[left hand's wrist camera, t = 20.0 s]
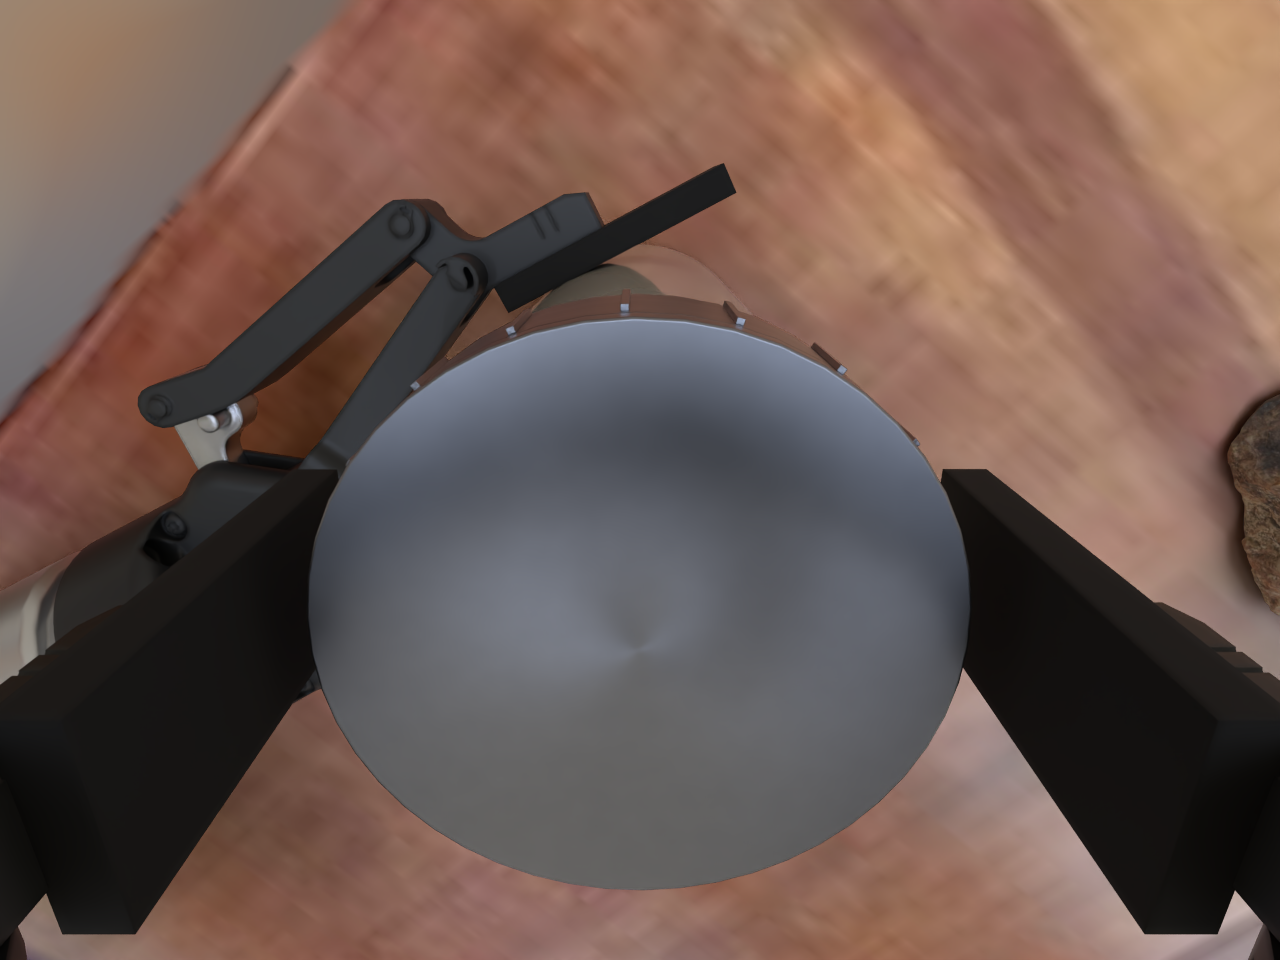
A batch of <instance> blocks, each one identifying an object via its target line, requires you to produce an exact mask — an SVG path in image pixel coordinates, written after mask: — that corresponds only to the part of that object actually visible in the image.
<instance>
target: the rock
mask: <svg viewBox="0 0 1280 960" xmlns="http://www.w3.org/2000/svg"><path fill="white" fill-rule="evenodd" d="M1227 457H1228V464H1229V465H1230V467H1231V471H1232V475H1233V479H1234V485H1235V488H1236V489H1237V490H1238V491H1239V492H1240V493H1241V495H1242V500H1243V502H1244V504H1245V505H1244V532H1245V538H1244V539H1243V540H1242V541H1241V542H1242V545H1243V548H1244V550H1245V552H1246V553H1247V558H1248V561H1249V563H1250V565H1251V567H1252V569H1251V571H1252V573H1253V577H1254V581H1255V583H1256V584H1257V585H1258V587H1259V589H1260V590H1261V592H1262V595H1263V598H1264V601H1265V602H1266V603H1267V604H1268V605H1269V607H1270V610H1271V611H1272V612H1274V613H1276V614H1277V615H1280V394H1279V395H1277V396H1275V397H1272V398H1270V399H1268V400H1266V401H1264V402H1263V404H1262V405H1261V406H1260V407H1259V408H1258V409H1257V410H1256V411H1255V412H1254V413H1253V414H1252V415H1251V416H1250V418H1249V419H1248V420H1247V422H1246V423H1245V424H1244V426H1243V427H1242V429H1241V432H1240V433H1239V435H1238V436H1237V437H1236V438H1235V439H1234V441H1233V442H1232V443H1231V445H1230V448H1229V450H1228V453H1227Z"/></svg>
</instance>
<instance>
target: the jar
mask: <svg viewBox="0 0 1280 960" xmlns="http://www.w3.org/2000/svg"><path fill="white" fill-rule="evenodd" d="M623 289H630V291H631V294H649V295H668V296H680V297H685V298H690V299H695V300H701V301H706V302H711V303H716V304H720V305H723V304H724V301H725V300H726V301H729V302H732V303H733V305H734V306H735V307H736V308H737V309H738V311H741V312H744V313H747V314H750V315H753V314H752V313H751V312H750V311H749V310H748V309H747V307H746V306H745V305H744V304H743V303H742V302H741V301H740V300H739V299H738V298H737V297H736V296H735V295H734V294H733V292H732V291H731V290H730V289H729V288H728V287H727V286H726V285H725V284H724V283H723V282H722V281H721V280H720V279H719V278H718V276H717V275H716V274H715V273H713V272H712V271H711V270H710V269H708V268H707V267H706V266H705V265H703V264H702V263H700V262H699V261H697V260H695V259H694V258H692V257H690V256H688V255H686V254H683V253H681V252H679V251H676V250H673V249H669V248H666V247H662V246H655V245H647V244H638V245H636V246H634V247H633V248H631V249H629V250H627V251H625V252H623V253H621V254H619V255H617V256H616V257H614V258H612V259H610V260H608V261H606V262H604V263H602V264H600V265H598V266H597V267H595V268H593V269H591V270H589V271H587V272H585V273H583V274H581V275H580V276H578V277H576V278H574V279H572V280H570V281H568V282H566V283H564V284H563V285H561V286H559V287H557V288H555V289H553V290H551V291H549V292H547V293H546V294H545V295H544V296H543V297H542V298H541V299H540V300H539V301H538V302H537V303H536V304H535V305H534V306H533V307H532V309H531V311H532V313H535V312H538V311H540V310H543V309H546V308H549V307H551V306H555V305H559V304H564V303H568V302H573V301H578V300H582V299H587V298H591V297H600V296H613V295H622V291H623ZM753 316H754V315H753Z"/></svg>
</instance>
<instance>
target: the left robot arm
mask: <svg viewBox="0 0 1280 960" xmlns="http://www.w3.org/2000/svg"><path fill="white" fill-rule="evenodd" d="M338 481H339V478H338V471H337V469H293V470H292V471H291V472H289V473H288V474H287V475H286V476H284V477H283V478H282V479H281V480H279V481H278V482H277V483H276V484H274V485H273V486H272V487H271V488H269V489H268V490H267V491H266V492H264V493H263V494H262V495H261V496H259V497H258V498H257V499H256V500H254V501H253V502H252V503H250V504H249V505H248V506H247V507H245V508H244V509H243V510H242V511H240V512H239V513H238V514H237V515H235V516H234V517H233V518H232V519H230V520H229V521H228V522H227V523H225V524H224V525H223V526H222V527H220V528H219V529H218V530H217V531H215V532H214V533H213V534H212V535H210V536H209V537H208V538H207V539H205V540H204V541H203V542H202V543H200V544H199V545H198V546H197V547H195V548H194V549H193V550H191V551H190V552H189V553H188V554H186V555H185V556H184V557H183V558H181V559H180V560H179V561H178V562H176V563H175V564H174V565H173V566H171V567H170V568H169V569H168V570H166V571H165V572H164V573H163V574H161V575H160V576H159V577H158V578H156V579H155V580H154V581H153V582H151V583H150V584H149V585H148V586H146V587H145V588H144V589H143V590H141V591H140V592H139V593H137V594H136V595H135V596H134V597H132V598H131V599H130V600H129V601H127V602H126V603H125V604H124V605H118V606H116V607H114V608H112V609H110V610H108V611H106V612H104V613H102V614H100V615H98V616H96V617H94V618H92V619H90V620H87V621H85V622H83V623H81V624H79V625H77V626H76V627H75V628H73V629H72V630H71V631H69V632H68V633H67V634H65V635H64V636H63V637H62V638H60V639H59V640H58V641H56V642H55V643H54V644H52V645H51V646H50V647H48V648H47V649H46V650H45V655H38V656H37V657H35V658H34V659H33V660H32V661H30V662H29V663H28V664H26V665H25V666H24V667H22V668H21V669H20V670H19V674H18V676H11V677H9V678H8V679H7V680H6V681H4V682H3V683H2V684H0V960H27V956H26V950H25V943H24V940H23V938H22V935H21V933H20V930H19V928H18V925H19V924H20V923H21V922H22V921H23V920H24V918H25V917H26V916H27V915H28V914H29V912H30V911H31V910H32V909H33V908H34V907H35V905H36V904H37V903H38V902H39V901H40V900H41V898H42V897H43V896H44V895H45V894H47V896H48V899H49V902H50V904H51V907H52V909H53V912H54V914H55V917H56V919H57V922H58V924H59V927H60V929H61V932H62V934H136V932H137V931H138V930H139V928H140V927H141V925H142V924H143V922H144V921H145V919H146V918H147V916H148V915H149V913H150V912H151V910H152V909H153V908H154V906H155V905H156V903H157V902H158V900H159V899H160V897H161V896H162V894H163V893H164V891H165V890H166V888H167V887H168V885H169V884H170V883H171V881H172V880H173V878H174V877H175V875H176V874H177V872H178V871H179V869H180V868H181V866H182V865H183V863H184V862H185V861H186V859H187V858H188V856H189V855H190V853H191V852H192V850H193V849H194V847H195V846H196V844H197V843H198V841H199V840H200V838H201V837H202V836H203V834H204V833H205V831H206V830H207V828H208V827H209V825H210V824H211V822H212V821H213V819H214V818H215V816H216V815H217V814H218V812H219V811H220V809H221V808H222V806H223V805H224V803H225V802H226V800H227V799H228V797H229V796H230V794H231V793H232V792H233V790H234V789H235V787H236V786H237V784H238V783H239V781H240V780H241V778H242V777H243V775H244V774H245V772H246V771H247V769H248V768H249V767H250V765H251V764H252V762H253V761H254V759H255V758H256V756H257V755H258V753H259V752H260V750H261V749H262V747H263V746H264V745H265V743H266V742H267V740H268V739H269V737H270V736H271V734H272V733H273V731H274V730H275V728H276V727H277V725H278V724H279V723H280V721H281V720H282V718H283V717H284V715H285V714H286V712H287V711H288V709H289V708H290V706H291V705H292V703H293V702H294V700H295V699H296V698H297V696H298V695H299V693H300V692H301V690H302V689H303V687H304V686H305V684H306V683H307V681H308V680H309V678H310V677H311V676H312V674H313V673H314V671H315V670H316V667H315V664H314V660H313V657H312V653H311V645H310V637H309V629H308V622H307V589H308V573H309V568H310V562H311V557H312V551H313V546H314V541H315V537H316V534H317V531H318V528H319V525H320V522H321V520H322V517H323V514H324V511H325V508H326V505H327V503H328V500H329V498H330V496H331V494H332V492H333V491H334V489H335V487H336V485H337V483H338ZM941 484H942V486H943V488H944V490H945V491H946V493H947V496H948V498H949V501H950V503H951V506H952V509H953V511H954V514H955V516H956V519H957V521H958V524H959V527H960V529H961V532H962V537H963V542H964V546H965V551H966V556H967V560H968V565H969V569H970V587H971V604H972V611H971V621H970V631H969V642H968V649H967V653H966V657H965V661H964V665H963V668H964V670H965V671H966V673H967V674H968V676H969V677H970V678H971V680H972V681H973V683H974V684H975V686H976V687H977V689H978V690H979V692H980V693H981V695H982V696H983V698H984V699H985V700H986V702H987V703H988V705H989V706H990V708H991V709H992V711H993V712H994V714H995V715H996V717H997V718H998V720H999V721H1000V723H1001V724H1002V725H1003V727H1004V728H1005V730H1006V731H1007V733H1008V734H1009V736H1010V737H1011V739H1012V740H1013V742H1014V743H1015V745H1016V746H1017V747H1018V749H1019V750H1020V752H1021V753H1022V755H1023V756H1024V758H1025V759H1026V761H1027V762H1028V764H1029V765H1030V767H1031V768H1032V769H1033V771H1034V772H1035V774H1036V775H1037V777H1038V778H1039V780H1040V781H1041V783H1042V784H1043V786H1044V787H1045V789H1046V790H1047V792H1048V793H1049V794H1050V796H1051V797H1052V799H1053V800H1054V802H1055V803H1056V805H1057V806H1058V808H1059V809H1060V811H1061V812H1062V814H1063V815H1064V816H1065V818H1066V819H1067V821H1068V822H1069V824H1070V825H1071V827H1072V828H1073V830H1074V831H1075V833H1076V834H1077V836H1078V837H1079V839H1080V840H1081V841H1082V843H1083V844H1084V846H1085V847H1086V849H1087V850H1088V852H1089V853H1090V855H1091V856H1092V858H1093V859H1094V861H1095V862H1096V863H1097V865H1098V866H1099V868H1100V869H1101V871H1102V872H1103V874H1104V875H1105V877H1106V878H1107V880H1108V881H1109V883H1110V884H1111V885H1112V887H1113V888H1114V890H1115V891H1116V893H1117V894H1118V896H1119V897H1120V899H1121V900H1122V902H1123V903H1124V905H1125V906H1126V908H1127V909H1128V910H1129V912H1130V913H1131V915H1132V916H1133V918H1134V919H1135V921H1136V922H1137V924H1138V925H1139V927H1140V928H1141V930H1142V931H1143V932H1144V934H1218V932H1219V929H1220V927H1221V924H1222V922H1223V919H1224V917H1225V914H1226V912H1227V909H1228V907H1229V904H1230V902H1231V899H1232V896H1233V894H1234V891H1235V890H1236V892H1237V893H1238V894H1239V895H1240V896H1241V898H1242V899H1243V900H1244V901H1245V902H1246V903H1247V905H1248V906H1249V907H1250V908H1251V909H1252V910H1253V912H1254V913H1255V914H1256V915H1257V916H1258V917H1259V919H1260V920H1261V921H1262V922H1263V926H1262V928H1261V930H1260V933H1259V935H1258V938H1257V940H1256V942H1255V945H1254V947H1253V949H1252V952H1251V954H1250V956H1249V959H1248V960H1280V680H1278V679H1277V678H1276V677H1274V676H1273V675H1272V674H1270V673H1263V671H1262V667H1261V666H1260V665H1259V664H1257V663H1256V662H1255V661H1253V660H1252V659H1251V658H1249V657H1248V656H1247V655H1245V654H1244V653H1243V652H1236V647H1235V646H1234V645H1232V644H1231V643H1230V642H1228V641H1227V640H1226V639H1224V638H1223V637H1222V636H1220V635H1219V634H1218V633H1217V632H1215V631H1214V630H1213V629H1211V628H1210V627H1209V626H1207V625H1206V624H1205V623H1203V622H1201V621H1199V620H1197V619H1195V618H1193V617H1191V616H1189V615H1187V614H1185V613H1182V612H1180V611H1178V610H1176V609H1174V608H1172V607H1170V606H1168V605H1166V604H1164V603H1154V602H1153V601H1151V600H1150V599H1149V598H1148V597H1146V596H1145V595H1144V594H1142V593H1141V592H1140V591H1139V590H1137V589H1136V588H1135V587H1134V586H1132V585H1131V584H1130V583H1129V582H1127V581H1126V580H1125V579H1124V578H1122V577H1121V576H1120V575H1119V574H1117V573H1116V572H1115V571H1114V570H1112V569H1111V568H1110V567H1109V566H1107V565H1106V564H1105V563H1104V562H1102V561H1101V560H1100V559H1099V558H1097V557H1096V556H1095V555H1094V554H1092V553H1091V552H1090V551H1089V550H1087V549H1086V548H1085V547H1083V546H1082V545H1081V544H1080V543H1078V542H1077V541H1076V540H1075V539H1073V538H1072V537H1071V536H1070V535H1068V534H1067V533H1066V532H1065V531H1063V530H1062V529H1061V528H1060V527H1058V526H1057V525H1056V524H1055V523H1053V522H1052V521H1051V520H1050V519H1048V518H1047V517H1046V516H1045V515H1043V514H1042V513H1041V512H1040V511H1038V510H1037V509H1036V508H1035V507H1033V506H1032V505H1031V504H1030V503H1028V502H1027V501H1026V500H1024V499H1023V498H1022V497H1021V496H1019V495H1018V494H1017V493H1016V492H1014V491H1013V490H1012V489H1011V488H1009V487H1008V486H1007V485H1006V484H1004V483H1003V482H1002V481H1001V480H999V479H998V478H997V477H996V476H994V475H993V474H992V473H991V472H989V471H988V470H987V469H943V471H942V478H941Z"/></svg>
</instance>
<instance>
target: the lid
mask: <svg viewBox="0 0 1280 960" xmlns="http://www.w3.org/2000/svg"><path fill="white" fill-rule="evenodd" d="M846 371H847V368H845V367H844V366H843V365H842V364H841V363H840V362H838V361H837V360H836V359H835V358H834V357H832V356H831V355H830V354H829V353H828V352H827V351H825V350H824V349H823V348H822V347H821V346H819V345H818V344H817V343H814V344H813V345H812V346H811V347H810V346H808V345H807V344H805V343H804V342H803V341H801V340H800V339H798V338H797V337H795V336H794V335H792V334H790V333H788V332H786V331H784V330H782V329H780V328H778V327H776V326H774V325H772V324H770V323H768V322H766V321H764V320H762V319H760V318H758V317H756V316H753V315H750V314H747V313H744V312H741V311H738V309H737V308H736V307H735V306H734V305H733V303H732V302H729V301H726V300H725V301H724V304H723V305H720V304H716V303H711V302H706V301H701V300H695V299H690V298H685V297H680V296H668V295H649V294H631V291H630V289H623V291H622V295H613V296H600V297H591V298H587V299H582V300H578V301H573V302H568V303H564V304H559V305H555V306H551V307H549V308H546V309H543V310H540V311H538V312H535V313H532V311H531V309H530V308H528V309H526V310H523V311H522V312H521V313H520V314H519V315H518V316H517V317H516V319H515V320H513V321H512V322H510V323H508V324H506V325H504V326H502V327H500V328H498V329H496V330H495V331H493V332H491V333H489V334H487V335H485V336H483V337H481V338H479V339H478V340H477V341H475V342H474V343H473V344H471V345H470V346H468V347H467V348H466V349H464V350H463V351H462V352H460V353H459V354H457V355H456V356H455V357H453V358H452V359H450V360H448V359H447V358H446V357H443V358H442V359H441V360H440V361H439V362H437V363H436V364H435V365H434V366H433V367H432V368H430V369H429V370H428V371H427V372H426V373H424V374H423V375H422V376H421V377H420V378H418V379H417V380H416V381H415V382H414V383H412V384H411V385H410V387H411V388H412V389H413V390H414V392H412V393H411V394H410V395H409V396H408V397H407V398H406V399H405V400H404V401H402V402H401V403H400V404H399V405H398V406H397V407H396V408H395V409H394V410H393V411H392V412H391V413H390V414H389V415H388V416H387V417H386V418H385V419H384V420H383V421H382V422H381V423H380V424H379V425H378V426H377V427H376V428H375V429H374V430H373V431H372V433H371V434H370V435H369V437H368V438H367V439H366V441H365V442H364V443H363V445H362V446H361V447H360V449H359V450H358V451H357V452H356V453H355V454H354V455H353V456H352V457H351V458H350V459H349V460H348V461H347V463H346V466H347V467H346V468H345V470H344V472H343V474H342V476H341V478H340V480H339V481H338V483H337V485H336V487H335V489H334V491H333V492H332V494H331V496H330V498H329V500H328V503H327V505H326V508H325V511H324V514H323V517H322V520H321V522H320V525H319V528H318V531H317V534H316V537H315V541H314V546H313V551H312V557H311V562H310V568H309V573H308V589H307V622H308V629H309V637H310V645H311V653H312V657H313V660H314V664H315V667H316V671H317V675H318V678H319V682H320V685H321V689H322V691H323V693H324V696H325V698H326V700H327V702H328V705H329V707H330V709H331V711H332V714H333V716H334V718H335V720H336V722H337V724H338V726H339V727H340V729H341V731H342V732H343V734H344V735H345V737H346V739H347V740H348V742H349V744H350V745H351V747H352V748H353V750H354V752H355V753H356V755H357V756H358V757H359V758H360V759H361V761H362V762H363V763H364V764H365V766H366V767H367V768H368V769H369V771H370V772H371V773H372V774H373V776H374V777H375V778H376V779H377V780H378V782H379V783H380V784H381V785H383V786H384V787H385V788H386V789H387V790H388V791H389V792H390V793H391V794H392V795H393V796H394V797H395V798H396V799H397V800H398V801H399V802H400V803H401V804H402V805H403V806H404V807H406V808H407V809H408V810H409V811H411V812H412V813H413V814H415V815H416V816H417V817H419V818H420V819H421V820H423V821H424V822H425V823H427V824H428V825H429V826H430V827H432V828H433V829H435V830H436V831H438V832H440V833H441V834H443V835H445V836H446V837H448V838H450V839H451V840H453V841H455V842H456V843H458V844H460V845H461V846H463V847H465V848H467V849H469V850H471V851H473V852H475V853H477V854H480V855H482V856H484V857H486V858H488V859H490V860H492V861H495V862H497V863H499V864H502V865H505V866H508V867H511V868H514V869H517V870H519V871H522V872H525V873H528V874H531V875H534V876H539V877H543V878H547V879H551V880H555V881H560V882H564V883H568V884H575V885H582V886H589V887H597V888H604V889H626V890H654V889H672V888H683V887H690V886H696V885H703V884H709V883H716V882H720V881H724V880H727V879H731V878H735V877H739V876H743V875H747V874H751V873H754V872H757V871H759V870H762V869H765V868H768V867H770V866H773V865H776V864H778V863H781V862H784V861H787V860H789V859H791V858H793V857H795V856H797V855H799V854H801V853H803V852H805V851H807V850H809V849H811V848H813V847H815V846H817V845H819V844H821V843H823V842H824V841H826V840H827V839H829V838H831V837H832V836H834V835H835V834H837V833H839V832H840V831H842V830H843V829H845V828H846V827H848V826H850V825H851V824H852V823H854V822H855V821H856V820H857V819H859V818H860V817H861V816H862V815H864V814H865V813H866V812H867V811H869V810H870V809H871V808H872V807H874V806H875V805H876V804H877V803H879V802H880V801H881V800H882V799H883V798H884V797H885V796H886V795H887V794H888V793H889V792H890V791H891V790H892V789H893V788H894V787H895V786H896V785H897V784H898V783H899V782H900V781H901V780H902V779H903V777H904V776H905V775H906V774H907V773H908V771H909V770H910V769H911V767H912V766H913V765H914V764H915V762H916V761H917V760H918V758H919V757H920V756H921V754H922V753H923V752H924V751H925V749H926V748H927V746H928V745H929V743H930V741H931V740H932V738H933V736H934V734H935V733H936V731H937V729H938V728H939V726H940V724H941V722H942V721H943V719H944V717H945V715H946V713H947V710H948V708H949V705H950V703H951V701H952V698H953V696H954V693H955V691H956V688H957V686H958V684H959V680H960V676H961V672H962V668H963V665H964V661H965V657H966V653H967V649H968V642H969V631H970V621H971V611H972V604H971V587H970V569H969V565H968V560H967V556H966V551H965V546H964V542H963V537H962V532H961V529H960V527H959V524H958V521H957V519H956V516H955V514H954V511H953V509H952V506H951V503H950V501H949V498H948V496H947V493H946V491H945V490H944V488H943V486H942V484H941V483H940V481H939V479H938V478H937V476H936V474H935V472H934V471H933V469H932V467H931V465H930V464H929V462H928V460H927V459H926V457H925V456H924V454H923V453H922V452H921V451H920V449H919V448H918V446H919V445H920V443H919V442H918V440H917V439H916V438H915V437H914V436H913V435H912V434H910V433H909V432H908V431H907V430H906V429H905V428H904V427H903V426H901V425H900V424H899V423H898V422H897V421H896V420H895V419H894V418H892V417H891V416H890V415H889V414H888V413H887V412H886V411H885V410H884V409H883V408H882V407H880V406H879V405H878V404H877V403H876V402H875V401H874V400H873V399H872V398H871V397H870V396H869V395H867V394H866V393H865V392H864V391H863V390H862V389H861V388H860V387H859V386H857V385H856V384H855V383H854V382H853V381H852V380H851V379H849V378H848V377H847V376H846V375H845V374H844V373H845V372H846Z"/></svg>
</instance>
